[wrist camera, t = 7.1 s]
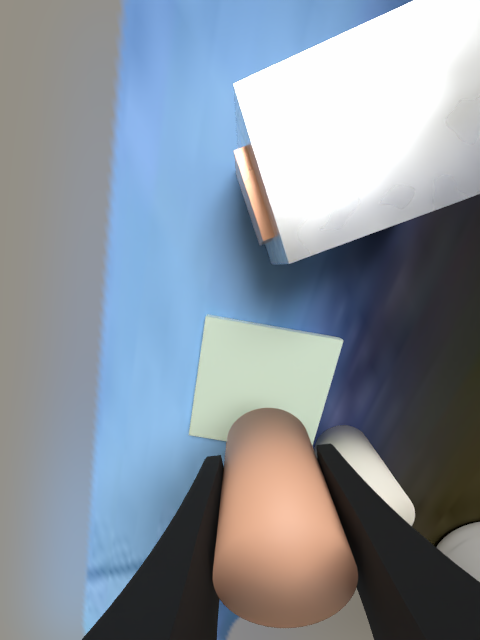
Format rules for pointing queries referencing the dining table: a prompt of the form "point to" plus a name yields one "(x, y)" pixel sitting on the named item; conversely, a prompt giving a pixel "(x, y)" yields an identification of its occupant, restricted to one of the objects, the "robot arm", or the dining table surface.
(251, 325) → the pad
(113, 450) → the dining table surface
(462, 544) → the pill bottle
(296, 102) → the block
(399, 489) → the ivory peg
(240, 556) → the terracotta peg
